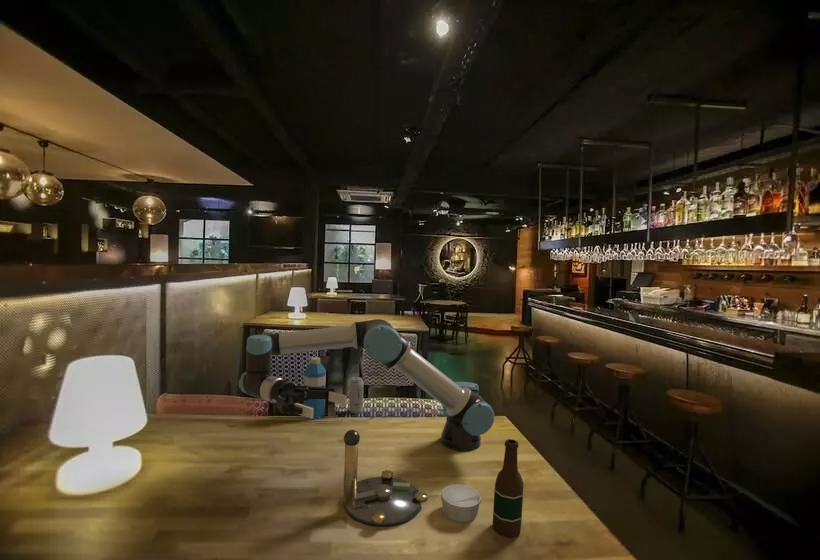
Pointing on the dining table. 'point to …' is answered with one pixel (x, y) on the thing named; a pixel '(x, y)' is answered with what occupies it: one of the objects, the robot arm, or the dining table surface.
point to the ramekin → (460, 502)
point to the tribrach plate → (387, 502)
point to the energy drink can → (356, 395)
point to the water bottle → (315, 378)
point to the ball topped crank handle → (350, 475)
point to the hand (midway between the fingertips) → (330, 406)
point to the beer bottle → (508, 495)
